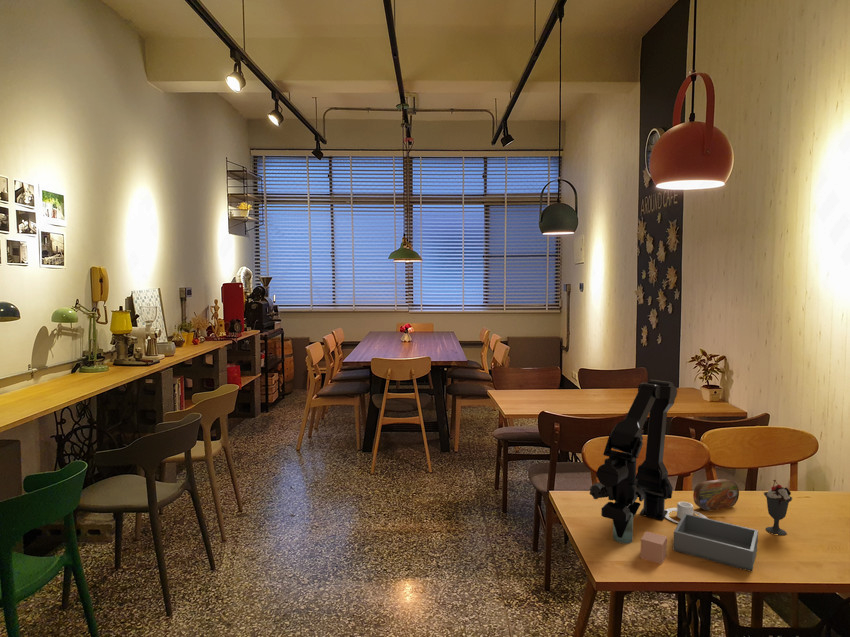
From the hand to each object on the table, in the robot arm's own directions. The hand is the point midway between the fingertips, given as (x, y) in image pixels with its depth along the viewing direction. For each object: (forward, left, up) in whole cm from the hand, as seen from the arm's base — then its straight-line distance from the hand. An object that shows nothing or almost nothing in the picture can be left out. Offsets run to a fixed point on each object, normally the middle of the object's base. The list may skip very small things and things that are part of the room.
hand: (622, 533), depth 145 cm
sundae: (-29, +33, -2) cm, 44 cm away
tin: (-37, +17, -2) cm, 41 cm away
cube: (+5, +9, -2) cm, 10 cm away
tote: (-8, +21, -2) cm, 23 cm away
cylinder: (0, 0, -2) cm, 2 cm away
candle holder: (-24, +11, -2) cm, 26 cm away
